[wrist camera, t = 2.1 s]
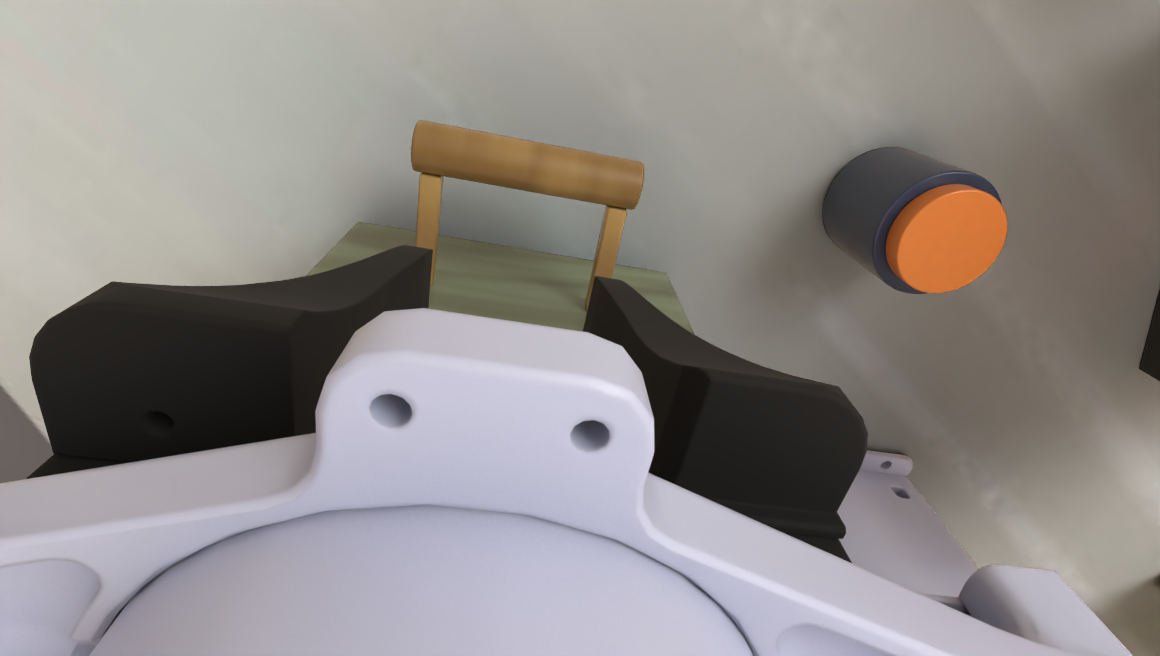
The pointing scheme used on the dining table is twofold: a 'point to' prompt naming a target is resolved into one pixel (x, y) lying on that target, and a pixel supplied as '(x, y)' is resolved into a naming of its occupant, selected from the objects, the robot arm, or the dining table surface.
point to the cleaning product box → (1153, 346)
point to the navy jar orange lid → (915, 220)
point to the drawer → (508, 274)
